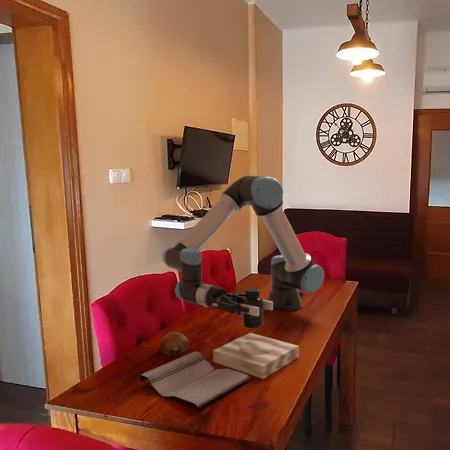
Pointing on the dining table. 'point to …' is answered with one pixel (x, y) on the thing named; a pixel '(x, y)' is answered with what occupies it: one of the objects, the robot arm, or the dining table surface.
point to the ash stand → (256, 355)
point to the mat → (193, 379)
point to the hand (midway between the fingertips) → (265, 309)
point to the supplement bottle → (255, 300)
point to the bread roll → (174, 344)
